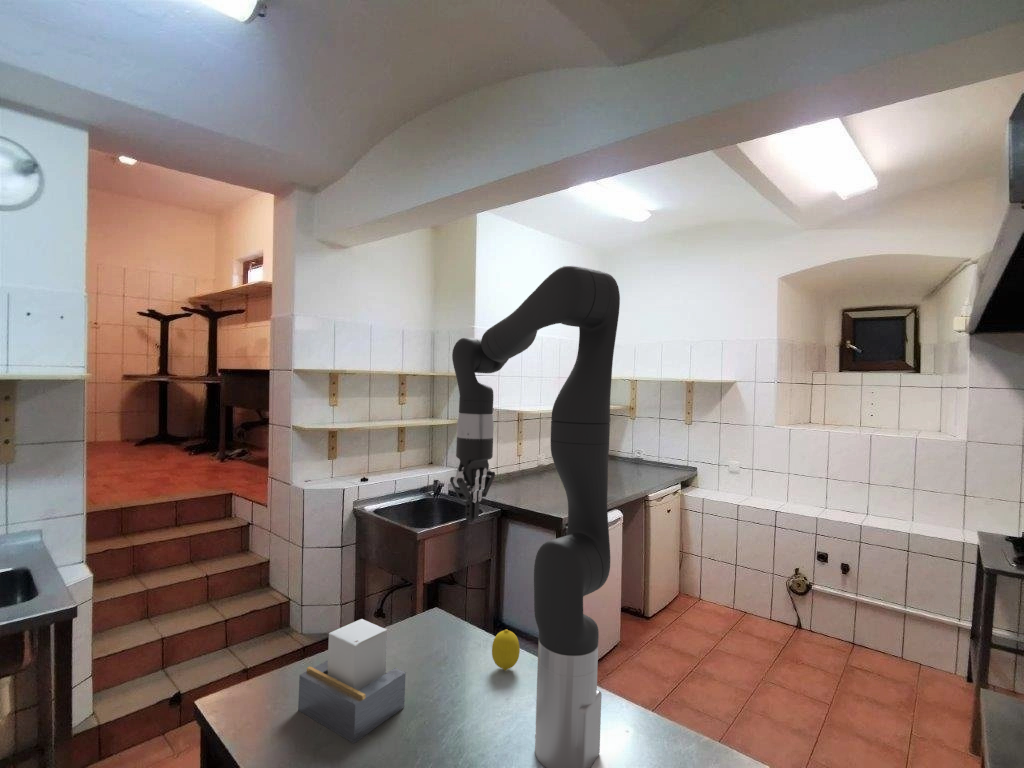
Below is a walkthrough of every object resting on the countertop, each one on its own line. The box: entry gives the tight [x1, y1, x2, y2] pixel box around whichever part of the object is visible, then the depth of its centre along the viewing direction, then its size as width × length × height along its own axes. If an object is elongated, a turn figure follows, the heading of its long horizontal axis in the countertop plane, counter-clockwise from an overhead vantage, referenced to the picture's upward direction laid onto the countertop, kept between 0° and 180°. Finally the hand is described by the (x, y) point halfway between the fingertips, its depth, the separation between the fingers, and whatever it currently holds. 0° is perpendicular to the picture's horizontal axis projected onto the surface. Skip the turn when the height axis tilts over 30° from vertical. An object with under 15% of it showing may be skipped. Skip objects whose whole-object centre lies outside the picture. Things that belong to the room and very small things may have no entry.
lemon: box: [491, 629, 521, 672], centre depth 100 cm, size 6×6×8 cm
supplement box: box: [327, 618, 388, 690], centre depth 88 cm, size 7×7×13 cm
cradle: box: [297, 659, 407, 744], centre depth 86 cm, size 14×11×7 cm
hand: (472, 519), depth 103 cm, fingers closed
